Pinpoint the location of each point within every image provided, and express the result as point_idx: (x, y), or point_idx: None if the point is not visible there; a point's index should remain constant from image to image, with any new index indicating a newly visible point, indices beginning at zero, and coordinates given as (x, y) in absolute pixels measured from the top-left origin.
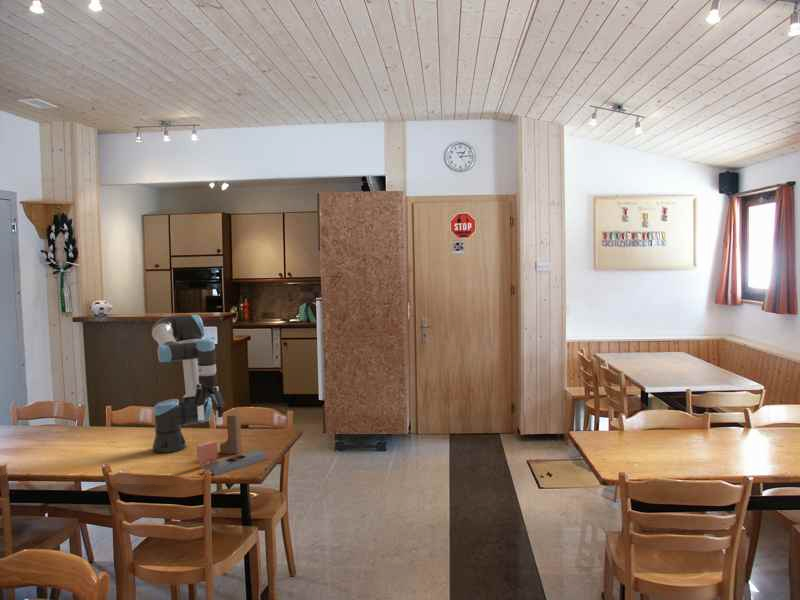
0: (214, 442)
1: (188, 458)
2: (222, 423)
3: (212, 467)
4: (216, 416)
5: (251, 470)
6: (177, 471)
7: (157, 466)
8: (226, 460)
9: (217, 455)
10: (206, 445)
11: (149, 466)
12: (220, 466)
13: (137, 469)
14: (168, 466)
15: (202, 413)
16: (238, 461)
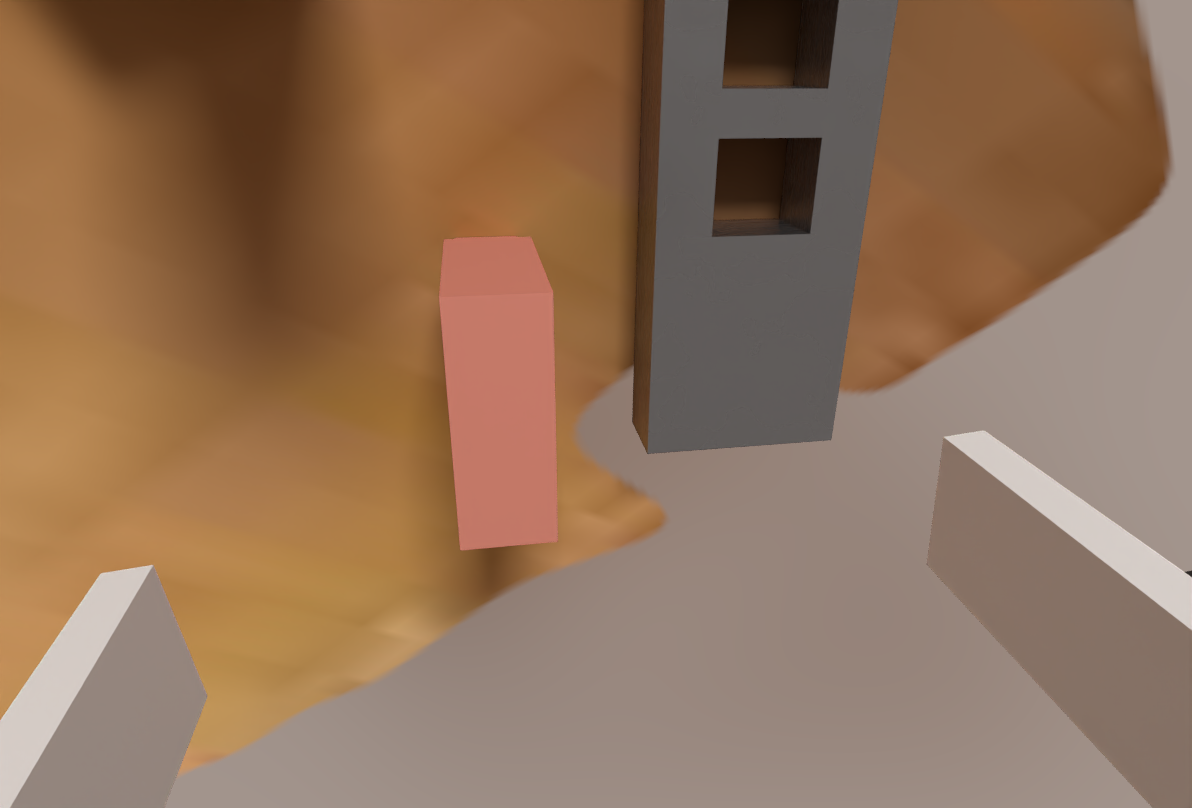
0: (553, 329)
1: (12, 341)
2: (989, 446)
3: (789, 434)
4: (1095, 719)
5: (1010, 98)
6: (407, 571)
7: None
8: (710, 218)
9: (533, 243)
10: (554, 449)
11: None
12: (837, 371)
13: None
14: (175, 577)
15: (90, 767)
16: (872, 150)
